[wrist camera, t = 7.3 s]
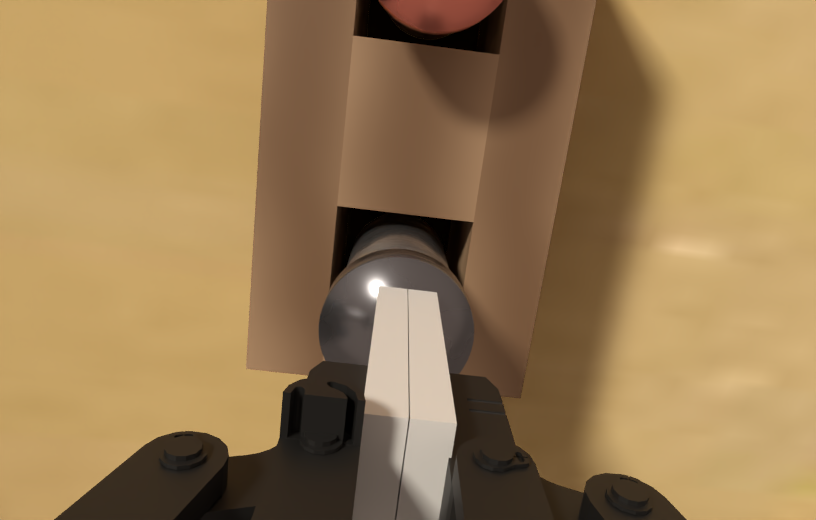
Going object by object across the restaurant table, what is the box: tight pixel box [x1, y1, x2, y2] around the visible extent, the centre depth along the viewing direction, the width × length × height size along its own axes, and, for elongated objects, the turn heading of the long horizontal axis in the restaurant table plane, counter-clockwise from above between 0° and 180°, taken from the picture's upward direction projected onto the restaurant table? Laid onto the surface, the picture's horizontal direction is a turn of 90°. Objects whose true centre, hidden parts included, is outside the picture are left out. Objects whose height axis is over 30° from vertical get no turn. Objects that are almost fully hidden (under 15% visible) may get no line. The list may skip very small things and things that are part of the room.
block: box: [246, 0, 596, 398], centre depth 23 cm, size 10×18×7 cm, turn 173°
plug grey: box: [318, 213, 474, 374], centre depth 20 cm, size 4×4×8 cm
